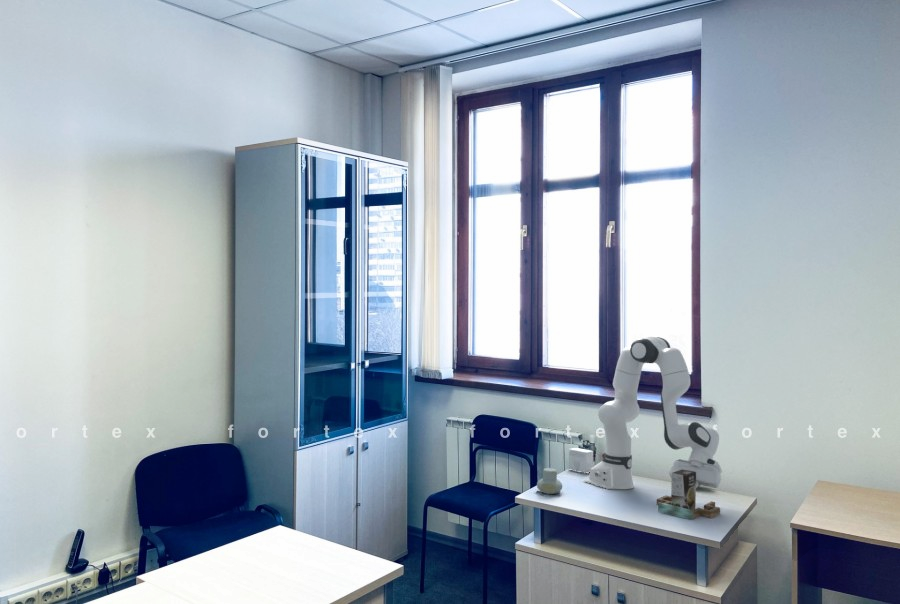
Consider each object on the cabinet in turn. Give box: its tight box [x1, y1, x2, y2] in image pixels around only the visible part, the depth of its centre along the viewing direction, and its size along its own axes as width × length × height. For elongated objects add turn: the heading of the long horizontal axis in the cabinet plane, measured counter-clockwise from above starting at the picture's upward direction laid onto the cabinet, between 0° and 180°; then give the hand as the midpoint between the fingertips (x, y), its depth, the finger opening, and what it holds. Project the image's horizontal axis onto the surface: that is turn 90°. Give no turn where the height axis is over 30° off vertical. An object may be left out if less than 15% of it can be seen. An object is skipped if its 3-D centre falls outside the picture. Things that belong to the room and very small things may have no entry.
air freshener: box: [536, 467, 563, 495], centre depth 296 cm, size 11×8×10 cm
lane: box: [656, 494, 721, 521], centre depth 274 cm, size 23×22×4 cm
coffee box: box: [670, 469, 697, 510], centre depth 271 cm, size 9×6×16 cm
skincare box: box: [568, 447, 594, 473], centre depth 335 cm, size 10×6×10 cm, turn 44°
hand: (688, 491), depth 275 cm, fingers closed, pressing on coffee box
